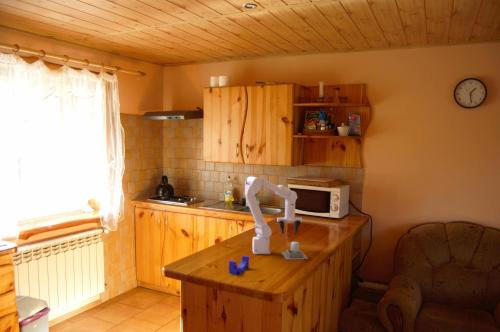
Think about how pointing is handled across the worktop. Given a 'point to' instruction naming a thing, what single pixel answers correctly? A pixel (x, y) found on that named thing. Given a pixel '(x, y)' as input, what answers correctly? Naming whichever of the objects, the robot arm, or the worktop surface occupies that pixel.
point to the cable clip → (243, 265)
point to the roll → (294, 247)
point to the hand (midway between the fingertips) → (289, 233)
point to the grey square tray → (294, 255)
